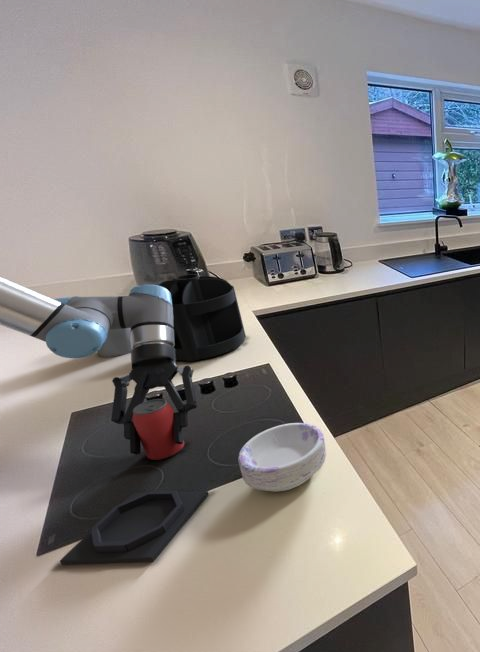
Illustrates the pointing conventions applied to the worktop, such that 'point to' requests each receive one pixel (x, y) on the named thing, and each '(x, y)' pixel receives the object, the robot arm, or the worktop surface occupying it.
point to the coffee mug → (116, 343)
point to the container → (204, 316)
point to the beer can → (156, 429)
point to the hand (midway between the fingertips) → (157, 447)
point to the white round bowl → (282, 457)
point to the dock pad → (136, 528)
